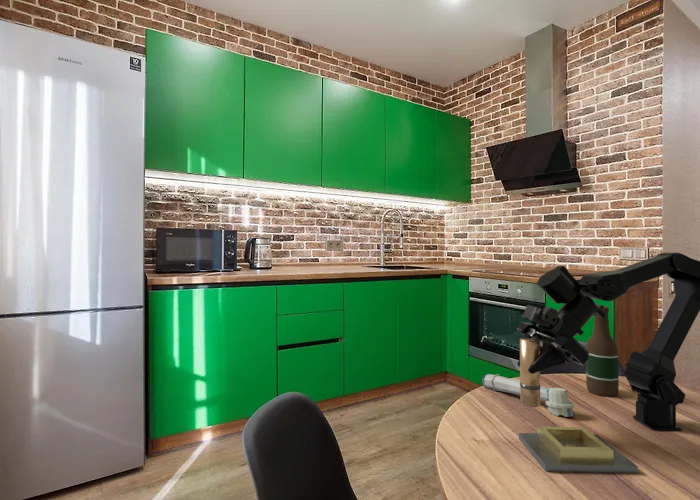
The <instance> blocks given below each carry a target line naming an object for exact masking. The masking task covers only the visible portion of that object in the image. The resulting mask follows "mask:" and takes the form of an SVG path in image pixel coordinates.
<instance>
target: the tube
mask: <svg viewBox="0 0 700 500" xmlns="http://www.w3.org/2000/svg"><path fill="white" fill-rule="evenodd" d="M539 354H540V340H538V339H533V338H525V337H521V338H519V359H520V367H519V381H520V395H519V396H520V400H519V401H520V404H522V405H523V406H526V407H531V408H539V407H540V406H541V399H540V389H541V386H542V385H541V371H539V372H536V373H533V374H531V373H530V372H529V371H528V369H529V367H530V366H531V364H532V363H533V362H534V360H535V359H536V358H537V356H538V355H539Z"/></svg>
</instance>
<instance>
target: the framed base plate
mask: <svg viewBox="0 0 700 500" xmlns="http://www.w3.org/2000/svg"><path fill="white" fill-rule="evenodd" d="M536 430H537V432H536V433H535V432H518V440H519V441H520V442H521V443H522V445H523V446H524V447H525V448H526V449H527V451H528V452H529V453H530V455H532V456H533V457H532V458H534V459H535V460H536V461H537V463H538V464H539V465H540V466H541V468H542V469H543V470H544V471H545V472H557V473H559V472H561V473H562V472H563V473H565V472H566V473H567V472H568V473H608V474H609V473H611V474H614V473H615V474H616V473H618V474H638V471H639V469H638V465H636V464H635V463H634V462H633V461H632V460H630V459H629V458H628V457H626V456H625V455H624V454H623V453H621V452H620V451H619V450H617V449H616V448H615V447H613V446H612V445H611V444H610V443H608V442H607V441H606V440H604V438H602V437H601V436H600V435H598V434H597V433H596V434H595V433H592V432H590V431H589V430H588V429H587V428H585V427H584V426H537V429H536Z"/></svg>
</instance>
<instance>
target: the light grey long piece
mask: <svg viewBox="0 0 700 500" xmlns="http://www.w3.org/2000/svg"><path fill="white" fill-rule="evenodd" d="M481 381H482V385H483V386H484V388H488V389H490V390H493V391H494V392H496V391H497V392H498V391H499V392H505V393H509V394H514V395H519V396H520V380H518V379H513V378H509V377H505V376H501V375H500V374H490V373H487V374H484V375H483V377H482V380H481ZM488 384H489V385H488ZM540 400H544V401H545V406H547V408H548V409H547V410H548V413H550V414H551V416H556V417H559V416H563V417H564V418H567V417H569V418H570V417H572V416H574V412H573V411H574V410H573V408H575V406H574V405H575V404H574V402H573V401H571V400H570V398H569V394H568V392H567V390H566V389H565V388H562V387H550V388H549V387H547V386H543V385H541V389H540Z"/></svg>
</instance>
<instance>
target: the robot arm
mask: <svg viewBox="0 0 700 500" xmlns="http://www.w3.org/2000/svg"><path fill="white" fill-rule="evenodd" d="M665 275H666V276H667V277H669V278H670V279H672V280H673V284H672V286H673V292H674V295H675V297H674V298H673V299H672V302H671V304H670V306H669V308H668V310H667V311H666V313H665V315H664V317H663V319H662V320H661V323H660V325H659V327H658V328H657V330H656V332H655V334H654V336H653V338H652V339H651V342H650V343H649V346H648V348H647V349H645V350H643V351H642V352H639V351H633V352H631V355H630V357H629V359H628V361H627V362H626V363H625V364H624V366H625V371H624V375H625V377H626V380H627V382H628V384H629V386H630V389H631V391H632V392H636V393H637V400H636V401H635V414H634V415H632V418H633V419H634V420H636V421H637V422H639V423H641V424H643V425H644V426H646V427H647V428H649V429H650V430H654V431H657V430H658V431H659V430H660V431H682V430H683V428H682V426H680V425H679V424H677V406H678V405H679V404H683V403H684V400H685V397H686V394H685V392H684V391H683V390H682V389H681V388H680V387H679V386H678V385H677V384H676V383H675V379H676V376H677V372H676V367H675V361H674V360H675V359H676V357H677V354H678V353H679V350H680V349H681V347H682V345H683V343H684V342H685V339H686V338H687V335H688V333H689V332H690V330H691V328H692V326H693V324H694V322H695V321H696V318H697V316H698V315H699V313H700V260H697V259H695V258H691V257H689V256H687V255H685V254H683V253H681V252H660V253H658V254H657V255H655V256H652V257H649V258H647V259H643V260H642V261H637V262H635V263H633V264H630V265H627V266H624V267H620V268H619V269H615V270H609V271H608V270H607V271H598V272H592V273H591V272H590V273H585V275H582V276H581V278H580V279H576V278H575V277H574V276H573V275H572V274H571V273H570V271H569V270H568V268H567V267H566V266H564V265H557V266H556V267H555V268H553V269H551V270H549V271H547V272H546V273H544V274H542V275H540V277H539V278H538V280H537V283H536V284H537V286H538V287H539V288H540V289H541V290H542V291H543V292H544V293H545V294H546V296H548V297H549V298H550V299H551V300H552V302H554V303H555V304H558V305H560V304H563V305H562V306H561V307H560V308H559V309H555V308H553V307H550V306H545V307H544V308H540V307H536V306H534V305H529V304H527V305H526V306H525V309H524V312H523V314H522V316H521V317H522V318H523V319H524V320H529V321H531V322H532V323H530V322H527V321H525V322H524V321H522V322H520V323H519V324H518V325H517V326H516V327H515V328H516V330H517V331H518V332H519V334H521V335H522V336H523V338H533V339H538V340H540V354H539V355H538V356H537V358H536V359H535V360H534V362H533V363H532V364H531V366H530V367H529V369H528V371H529V372H530V373H531V374H533V373H536V372H539V371H540V372H541V371H545V370H546V369H550V368H553V367H556V366H559V365H563V364H570V360H569V358H570V357H571V356H572V362H573V363H575V364H577V365H580V366H582V367H584V366H585V365H586V362H587V361H588V360H589V352H588V351H587V350H586V348H585V347H584V346H583V345H582V344H581V343H580V342H579V341H578V340H577V339H576V338H575V336H576V335H577V336H582V335H583V334H584V331H583V330H582V328H584V326H585V325H586V324H587V323H588V321H590V320H591V318H592V317H595V316H596V317H601V318H605V312H604V305H601V304H597V303H596V302H595V301H594V300H597V301H603V302H612V301H615V300H616V299H618V298H620V297H621V296H623V295H625V294H627V292H628V290H629V289H631V288H632V287H634V286H636V285H639V284H641V283H642V284H643V283H645V282H647V281H650V280H653V279H656V278H658V277H659V278H660V277H661V276H665ZM533 323H535V324H533ZM516 364H517V366H518V367H519V368H520V358H519V359H518V361H517V363H516Z"/></svg>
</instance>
